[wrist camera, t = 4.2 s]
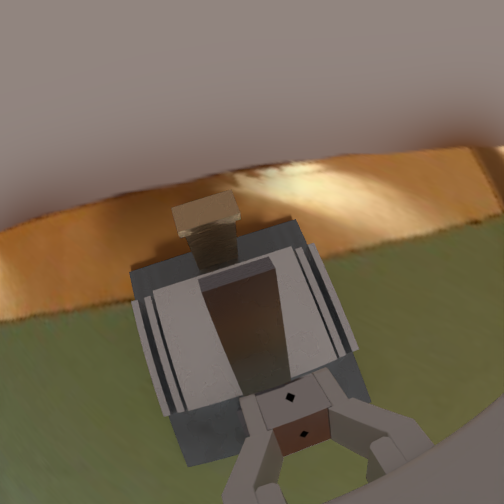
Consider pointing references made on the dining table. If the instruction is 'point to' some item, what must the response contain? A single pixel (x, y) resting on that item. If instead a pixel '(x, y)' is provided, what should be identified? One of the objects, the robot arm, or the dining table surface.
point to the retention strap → (249, 323)
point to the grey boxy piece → (205, 335)
